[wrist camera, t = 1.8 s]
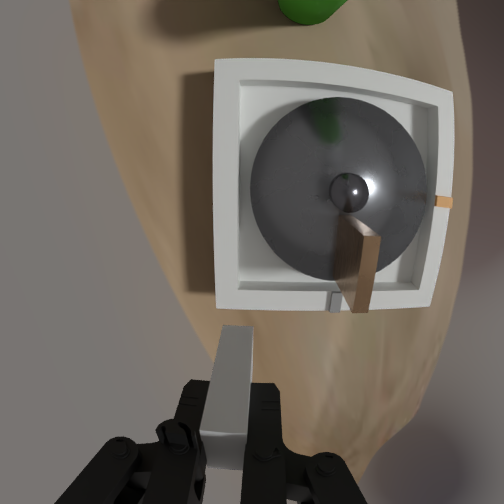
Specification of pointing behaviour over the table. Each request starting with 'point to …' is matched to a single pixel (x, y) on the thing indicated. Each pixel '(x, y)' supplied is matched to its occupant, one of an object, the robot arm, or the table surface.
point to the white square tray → (241, 163)
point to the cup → (309, 10)
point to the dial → (339, 192)
